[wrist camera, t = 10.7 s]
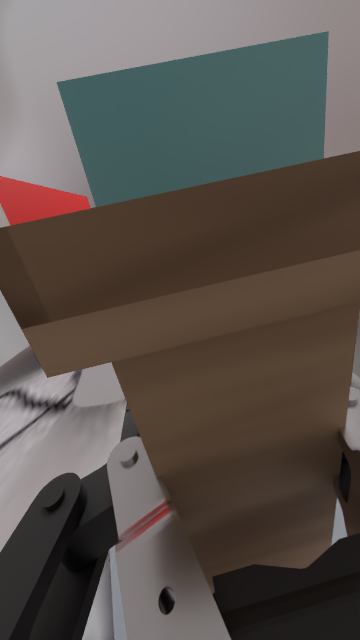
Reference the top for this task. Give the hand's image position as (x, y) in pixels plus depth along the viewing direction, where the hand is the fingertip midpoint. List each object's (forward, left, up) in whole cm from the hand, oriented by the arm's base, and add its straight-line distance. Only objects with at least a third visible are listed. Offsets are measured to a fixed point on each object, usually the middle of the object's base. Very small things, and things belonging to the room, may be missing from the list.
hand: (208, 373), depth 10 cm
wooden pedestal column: (-1, -3, -7) cm, 7 cm away
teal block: (-1, -2, +6) cm, 6 cm away
